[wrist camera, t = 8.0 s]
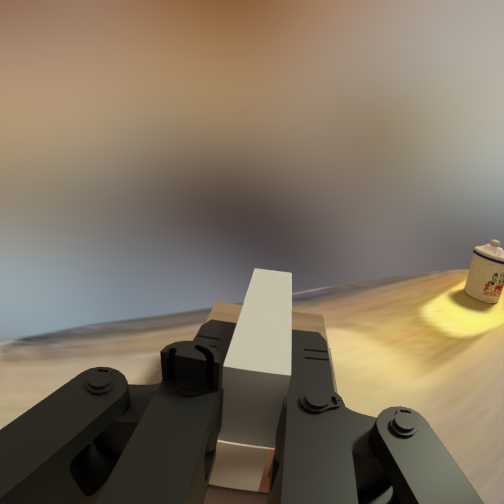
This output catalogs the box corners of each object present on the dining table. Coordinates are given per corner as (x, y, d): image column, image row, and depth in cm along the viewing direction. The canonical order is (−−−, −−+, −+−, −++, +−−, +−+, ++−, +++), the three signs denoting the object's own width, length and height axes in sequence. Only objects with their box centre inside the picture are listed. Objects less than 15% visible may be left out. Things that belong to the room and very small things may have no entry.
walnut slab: (345, 453, 13) (322, 314, 28) (153, 427, 14) (216, 301, 29) (321, 495, 14) (312, 358, 30) (163, 473, 15) (213, 345, 30)
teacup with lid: (483, 306, 45) (501, 246, 42) (455, 287, 54) (468, 232, 50) (512, 302, 47) (527, 249, 44) (485, 286, 56) (498, 237, 53)
